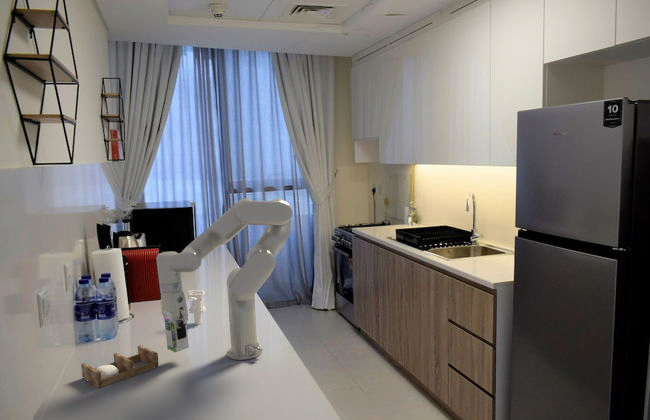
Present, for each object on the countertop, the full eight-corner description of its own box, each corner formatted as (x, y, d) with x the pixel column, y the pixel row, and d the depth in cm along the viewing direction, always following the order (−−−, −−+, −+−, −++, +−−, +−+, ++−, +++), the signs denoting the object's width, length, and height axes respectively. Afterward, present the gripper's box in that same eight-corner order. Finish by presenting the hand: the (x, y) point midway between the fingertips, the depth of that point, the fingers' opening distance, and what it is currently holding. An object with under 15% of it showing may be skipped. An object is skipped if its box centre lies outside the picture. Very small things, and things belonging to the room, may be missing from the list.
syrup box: (166, 349, 182) (162, 310, 180) (181, 344, 186) (177, 305, 185) (174, 353, 178) (169, 312, 176) (189, 347, 182) (185, 308, 181)
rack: (158, 366, 179) (157, 352, 178) (98, 388, 163) (97, 373, 163) (141, 358, 187) (140, 345, 186) (82, 378, 171) (81, 363, 171)
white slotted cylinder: (188, 322, 226) (186, 289, 224) (204, 319, 229) (202, 287, 228) (192, 327, 220) (189, 293, 218) (208, 324, 223) (206, 290, 221)
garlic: (90, 378, 172) (89, 367, 171) (108, 370, 177) (107, 360, 177) (104, 383, 167) (103, 372, 167) (122, 375, 173) (121, 365, 172)
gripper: (194, 287, 177) (200, 337, 179) (167, 281, 188) (173, 329, 190) (175, 292, 171) (181, 344, 173) (148, 286, 183) (154, 335, 185)
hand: (177, 336), depth 182 cm, fingers closed on syrup box, 5 cm apart
